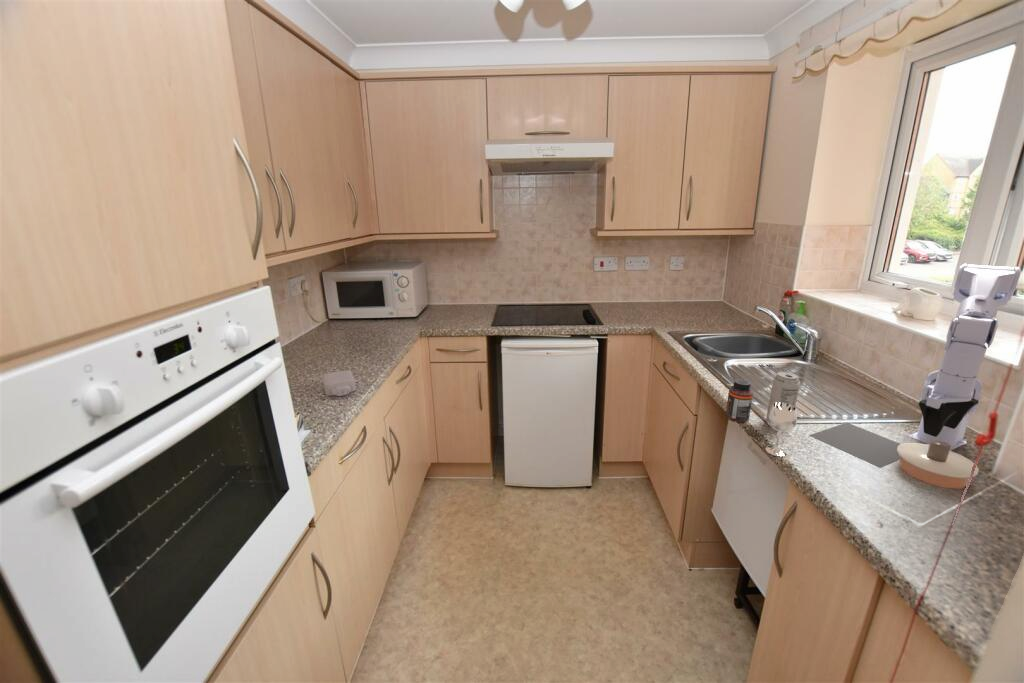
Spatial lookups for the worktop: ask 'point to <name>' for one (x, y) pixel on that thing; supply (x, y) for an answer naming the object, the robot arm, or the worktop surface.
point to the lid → (937, 459)
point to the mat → (860, 444)
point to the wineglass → (781, 423)
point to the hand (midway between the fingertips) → (939, 430)
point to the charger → (339, 383)
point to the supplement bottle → (739, 401)
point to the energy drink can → (784, 390)
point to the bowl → (932, 476)
